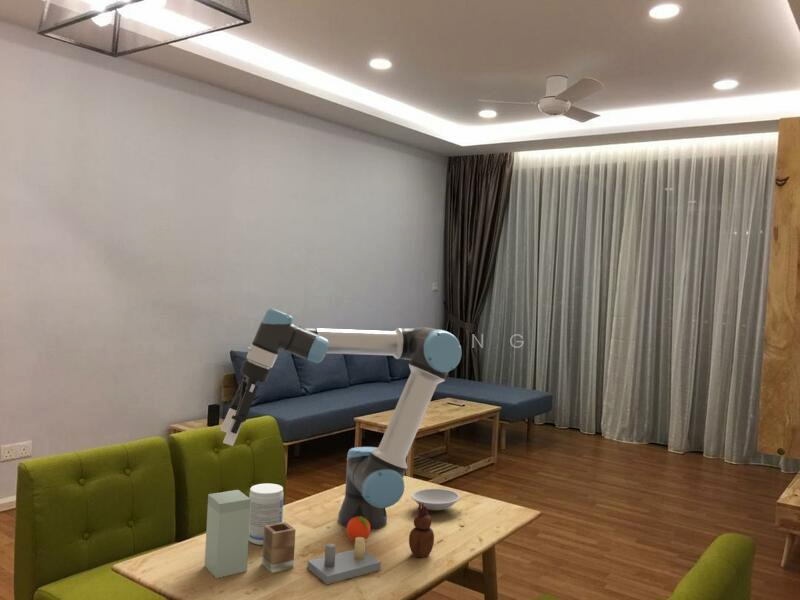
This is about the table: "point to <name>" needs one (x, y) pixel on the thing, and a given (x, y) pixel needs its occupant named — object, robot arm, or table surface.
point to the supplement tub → (264, 509)
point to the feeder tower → (227, 533)
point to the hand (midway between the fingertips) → (226, 437)
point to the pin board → (344, 563)
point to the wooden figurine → (421, 534)
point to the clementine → (358, 527)
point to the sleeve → (278, 547)
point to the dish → (436, 498)
